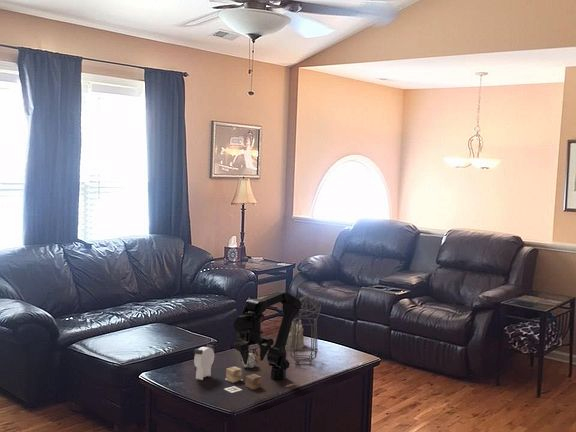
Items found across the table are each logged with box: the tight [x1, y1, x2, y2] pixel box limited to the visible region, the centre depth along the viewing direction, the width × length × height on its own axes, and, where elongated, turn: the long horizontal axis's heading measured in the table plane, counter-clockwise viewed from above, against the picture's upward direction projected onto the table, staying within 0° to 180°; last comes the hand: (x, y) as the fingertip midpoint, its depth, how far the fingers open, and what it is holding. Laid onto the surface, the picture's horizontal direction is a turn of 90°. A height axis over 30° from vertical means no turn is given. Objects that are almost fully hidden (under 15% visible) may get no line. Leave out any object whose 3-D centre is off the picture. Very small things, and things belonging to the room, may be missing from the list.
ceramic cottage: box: [285, 319, 305, 351], centre depth 345 cm, size 16×16×15 cm
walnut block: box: [244, 373, 262, 390], centre depth 275 cm, size 5×5×5 cm
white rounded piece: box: [193, 344, 216, 381], centre depth 286 cm, size 12×11×15 cm
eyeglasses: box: [248, 346, 264, 364], centre depth 321 cm, size 14×14×4 cm
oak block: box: [225, 366, 243, 383], centre depth 284 cm, size 5×5×5 cm
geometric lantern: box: [289, 295, 322, 366], centre depth 314 cm, size 16×16×35 cm
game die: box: [240, 351, 259, 369], centre depth 303 cm, size 9×8×10 cm
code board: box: [224, 378, 243, 394], centre depth 277 cm, size 18×20×1 cm
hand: (253, 362), depth 275 cm, fingers open, 9 cm apart
